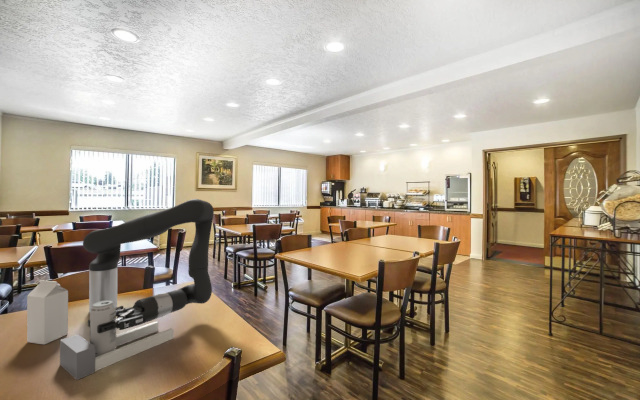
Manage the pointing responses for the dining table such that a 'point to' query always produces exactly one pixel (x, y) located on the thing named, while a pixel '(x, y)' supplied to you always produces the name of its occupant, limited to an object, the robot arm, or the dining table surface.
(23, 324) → the dining table surface
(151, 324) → the stop channel
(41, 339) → the milk carton
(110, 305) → the energy drink can
